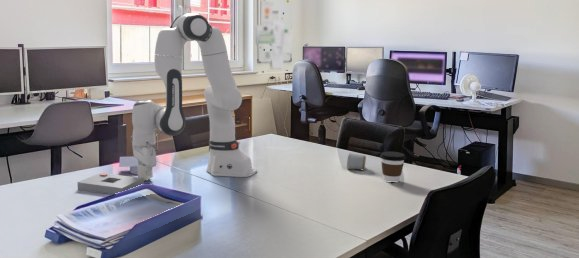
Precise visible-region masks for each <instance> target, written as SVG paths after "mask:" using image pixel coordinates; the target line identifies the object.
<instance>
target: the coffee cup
mask: <svg viewBox="0 0 579 258" xmlns="http://www.w3.org/2000/svg"><path fill="white" fill-rule="evenodd" d="M379 158H380V159H381V162H380V163H381V171H382V178H383V181H384V180H386V181H399V182H400V179H401V176H402V173H403V169H404V168H403V167H404V163H405V162H404V161H405V160H406V159H407V157H406V155H405V154H404V153H403V152H398V151H383V152H381V153H380V155H379Z"/></svg>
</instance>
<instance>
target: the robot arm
mask: <svg viewBox="0 0 579 258" xmlns="http://www.w3.org/2000/svg"><path fill="white" fill-rule="evenodd" d="M194 41H195V42H196V43H197V44H198V46H199V48H200V55H201V59H202V66H203V70H204V75H205V76H206V77H207V80H208V83H209V85H207V86H206V87H205V88H204V92H203V95H204V96H203V98H204V99H205V101H206V102H205V103H206V107H207V109H206V110H207V113H208V118H209V119H208V120H209V140H208V151H209V154H208V155H209V157H208V164H207V167H206V172H207V173H209V174H211V176H214V177H215V176H216V177H233V178H234V177H235V178H247V177H251V176H253V175H255V174H256V173H257V171H258V170H257V167H254V166H253V164H252V159H251V157H250V156H249V155H248V154H247V153H245V152H244V151H243V150H241V149H240V148H239V147H240V144H241V141H237V140H236V122H235V119H234V116H233V112H232V111H236V110H237V109H239V108H240V106H241V105H242V102H243V95H242V94H241V92H240V90H239V88H238V86H237V83H236V80H235V78H234V75H233V72H232V69H231V65H230V60H229V56H228V55H229V54H228V51H227V50H228V49H227V46H226V41H225V39H224V35H223V32H222V31H221V29H220V28H219V27H216V26H212V25H211V24H210V22H209V21H208V19H207V18H205V16H204V15H202V14H199V13H193V12H192V13H185V14H180V15H179V16H177V17H176V18H175V19H174V20H173V22H172V24H171V25H170V26H169V27H167V28H163V29H162V30H160V31H159V32H158V34H157V38H156V43H155V47H154V48H155V49H154V69H155V72H156V73H157V75H158V76H159V78H160V79H161V80H162V82H163V83H164V87H165V106H163V105H160V104H159V103H156V102H154V101H153V100H151V99H143V100H138V101H137V102H135V103H134V104H133V105H132V106H133V107H132V113H131V114H132V115H131V119H132V120H131V123H132V127H133V129H132V135H130V141H131V143H132V145H131V146H132V154H133V155H132V156H134V157H135V158H136V159H138V164H139V165H140V164H142V163H143V164H144V165H146V168H147V169H146V175H147V176H151V171H152V172H153V167H154V168H155V167H157V152H156V149H155V147H154V145H156V131H158V130H159V131H162V132H163V133H164V134H166V135H168V136H170V137H171V136H177V135H179V134H181V133H182V132H183V131H184V129H185V128H186V124H187V123H186V116H185V114H184V110H183V78H182V77H183V76H182V73H183V72H182V68H183V56H184V55H183V51H184V47H185V44H186V43H187V42H194Z"/></svg>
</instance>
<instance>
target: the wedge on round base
mask: <svg viewBox="0 0 579 258" xmlns="http://www.w3.org/2000/svg"><path fill="white" fill-rule="evenodd" d="M138 165H139V164H138V159H136V158H135V157H134V155H132V156H120V157H119V164H118V167H119V168H126V167H127V168H129V172H130V174H137V175H138Z"/></svg>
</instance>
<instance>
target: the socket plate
mask: <svg viewBox="0 0 579 258" xmlns="http://www.w3.org/2000/svg"><path fill="white" fill-rule="evenodd" d="M141 184H144V182H143V178H138V176H137V177H135V176H129V175H121V174H111V173H103V172H100V173H97V174H95V175H92V176H90V177H87V178H85V179H83V180H80V181H77V191H85V192H93V193H100V194H108V195H113V194H115V193H118V192H122V191H125V190H128V189H130V188H133V187H136V186H138V185H141Z"/></svg>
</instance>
